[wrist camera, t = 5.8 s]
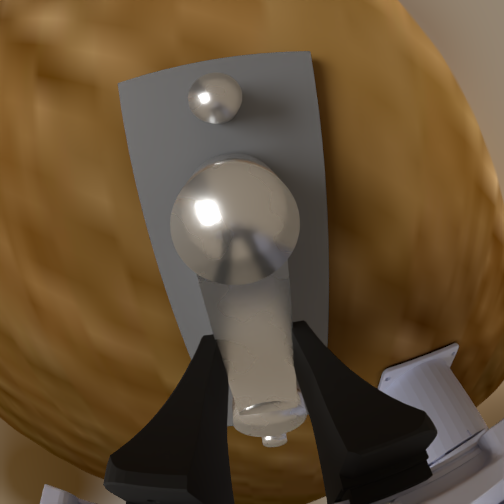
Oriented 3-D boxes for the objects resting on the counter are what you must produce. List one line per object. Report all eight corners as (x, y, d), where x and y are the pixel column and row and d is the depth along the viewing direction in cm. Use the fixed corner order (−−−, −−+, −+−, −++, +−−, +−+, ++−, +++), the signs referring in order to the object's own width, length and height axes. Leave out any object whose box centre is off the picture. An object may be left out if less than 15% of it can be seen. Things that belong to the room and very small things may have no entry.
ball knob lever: (297, 391, 17) (306, 430, 14) (237, 400, 17) (239, 440, 14) (276, 146, 11) (293, 154, 8) (176, 162, 11) (157, 177, 8)
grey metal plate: (319, 401, 20) (331, 441, 16) (220, 416, 20) (221, 458, 16) (304, 56, 10) (334, 31, 7) (125, 85, 10) (85, 74, 7)
